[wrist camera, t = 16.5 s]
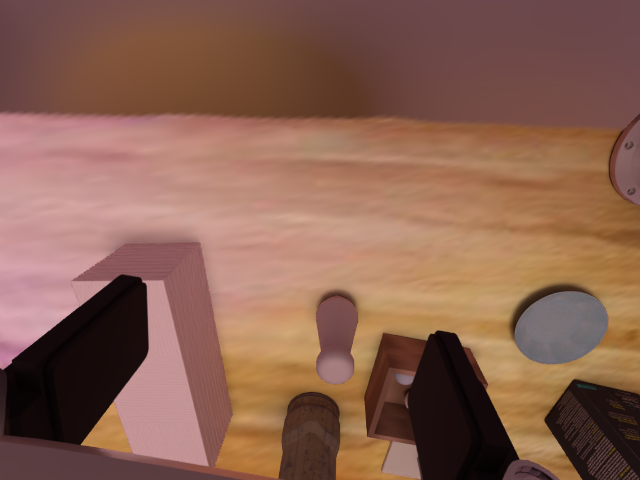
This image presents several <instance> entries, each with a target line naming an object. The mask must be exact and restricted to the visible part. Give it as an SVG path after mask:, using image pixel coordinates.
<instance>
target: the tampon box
mask: <svg viewBox="0 0 640 480" xmlns="http://www.w3.org/2000/svg"><path fill="white" fill-rule="evenodd" d="M545 423H546V424H547V426H548V427H549V429H550V430H551V432H552V434H553V435H554V437H555V438H556V440H557V441H558V443H559V444H560V446H561V447H562V449H563V450H564V452H565V453H566V455H567V457H568V458H569V460H570V461H571V463H572V464H573V466H574V467H575V469H576V470H577V472H578V474H579V475H580V477H581V478H582V480H640V395H638V394H634V393H630V392H625V391H621V390H617V389H612V388H608V387H604V386H599V385H595V384H591V383H586V382H582V381H577V380H574V381H573V382H572V384H571V385H570V387H569V388H568V389H567V391H566V392H565V393H564V395H563V396H562V398H561V399H560V400H559V402H558V403H557V405H556V406H555V407H554V409H553V410H552V411H551V413H550V414H549V415H548V417H547V418H546V420H545Z"/></svg>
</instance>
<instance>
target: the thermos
mask: <svg viewBox="0 0 640 480" xmlns="http://www.w3.org/2000/svg"><path fill="white" fill-rule="evenodd" d="M339 445H340V423H339V409H338V406H337V404H336V403H335V402H334V400H332V399H331V398H330V397H328V396H326V395H323V394H321V393H315V392H309V393H303V394H300V395H298V396H296V397H295V398H294V399H292V400H291V402H290V404H289V406H288V413H287V416H286V418H285V422H284V427H283V433H282V449H283V454H282V460H281V466H280V472H279V478H278V479H283V480H336V456H337V453H338V450H339Z"/></svg>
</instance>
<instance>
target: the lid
mask: <svg viewBox="0 0 640 480" xmlns="http://www.w3.org/2000/svg"><path fill="white" fill-rule="evenodd" d="M381 471H382V473H388V474H394V475H400V476H405V477H411V478H417V479H421V480H423V477H422V472H421V468H420V463H419V458H418V453H417V449H416V445H411V444H405V443H399V442H394V441H391V442H390V445H389V448H388V451H387V454H386V457H385V459H384V462H383V465H382V468H381Z"/></svg>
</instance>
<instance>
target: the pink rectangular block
mask: <svg viewBox="0 0 640 480" xmlns="http://www.w3.org/2000/svg"><path fill="white" fill-rule="evenodd" d="M121 274H125V275H130V276H136V277H140V278H141V279H142V282H144V283H146V285H147V303H148V335H149V351H148V354H147V357H146V359H145V360H144V362H143V363H142V364H141V365H140V367H139V368H138V369H137V371H136V372H135V373H134V375H133V376H132V377H131V379H130V380H129V381H128V383H127V384H126V385H125V387H124V388H123V389H122V391H121V392H120V393H119V395H118V396H117V397H116V399H115V400H114V403H115V406H116V408H117V411H118V414H119V417H120V420H121V422H122V425H123V428H124V431H125V433H126V436H127V439H128V442H129V445H130V447H131V450H132V453H133V454H138V455H144V456H150V457H156V458H162V459H168V460H174V461H180V462H186V463H191V464H197V465H203V466H209V467H215V462H216V461H217V458H218V457H217V456H218V455H219V453H220V450H221V447H222V444H223V441H224V438H225V435H226V434H225V433H226V432H227V430H228V429H227V428H228V427H229V423H230V421H231V418H232V415H233V414H232V408H231V403H230V398H229V393H228V387H227V382H226V377H225V372H224V366H223V361H222V356H221V351H220V345H219V340H218V335H217V329H216V324H215V319H214V314H213V308H212V303H211V298H210V293H209V287H208V282H207V277H206V272H205V266H204V261H203V256H202V250H201V245H200V243H168V244H125V245H124V246H123V247H121V248H119V250H116V251H115V252H114V253H112V254H110V256H107V257H106V258H105V259H103V260H101V261H100V262H98V263H97V264H95V266H92V267H91V268H90V270H87V271H85V272H84V274H81V275H79V276H78V278H75V279H73V280H72V281H71V283H72V286H73V289H74V292H75V295H76V297H77V300H78V303H79V306H81V305H82V304H84V303H85V302H86V301H87V300H89V299H90V298H91V297H92V296H94V295H95V294H96V293H97V292H99V291H100V290H101V289H103V288H104V287H105V286H106V285H108V284H109V283H110V282H111V281H113V280H114V279H115V278H116V277H118V276H119V275H121Z"/></svg>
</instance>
